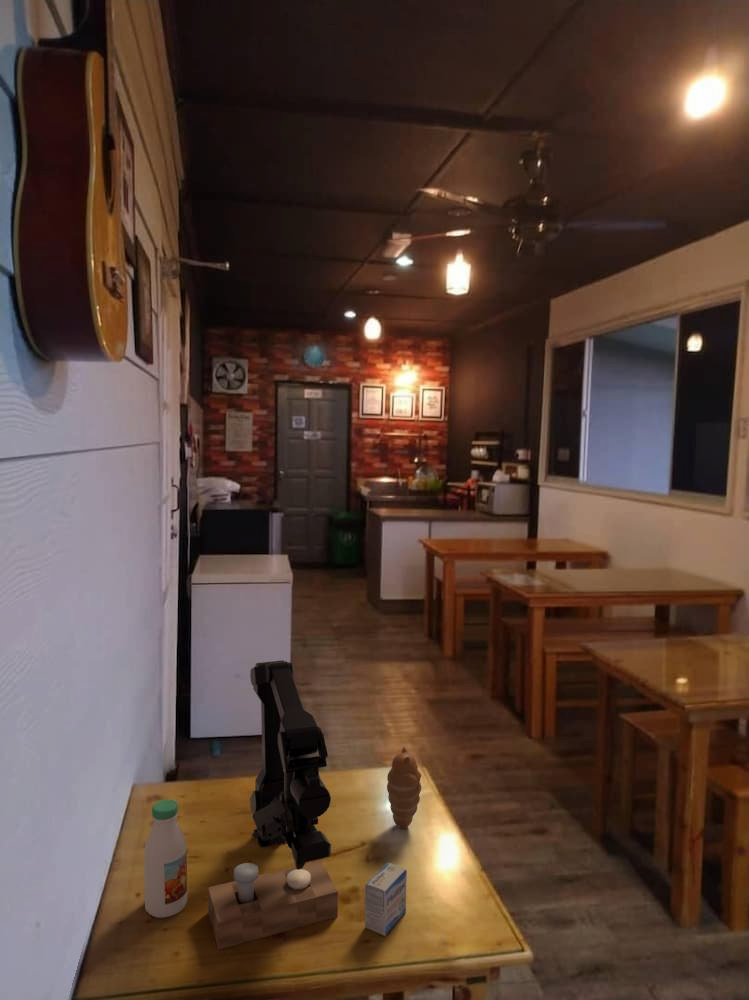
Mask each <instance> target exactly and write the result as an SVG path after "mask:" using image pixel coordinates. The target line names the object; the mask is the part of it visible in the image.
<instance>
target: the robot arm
mask: <svg viewBox="0 0 749 1000" xmlns="http://www.w3.org/2000/svg"><path fill="white" fill-rule="evenodd" d="M249 674H250V675H249V676H250V683H251V686H253V687H252V688H253V691H254V693H255V694H256V696H257V697H258V699H259V701H260V713H261V714H260V715H261V721H260V722H261V760H262V763H261V764H262V766H261V767H262V768H261V770H260V771H259V772H258V775H257V777H256V778H255V784H254V785H255V786H254V787H255V789H254V790H253V791H252V793H251V795H250V797H249V804H250V807H249V808H250V811H251V813H252V819H253V822H254V825H255V826H256V829H253V835H254V836H255V839H256V842H257V843H258V846H259V847H260V848H266V847H270V846H275V845H279V844H282V843H283V844H284V843H286V844H287V846H288V847H289V849H291V853H292V858H293V861H294V865H295V866H296V869H297V870H300V869H302V868H303V866H304V865H305V864H307V863H310V862H315V861H319V860H322V859H325V858H329V857H330V856H331V855H332V854H331V853H332V848H331V847H332V844H331V842H330V841H329V839H328V837H327V836H326V834H325V833H323V832H322V831H321V830H318V829H317V828H316V825H319V817H321V816H322V815H324V814H325V813H326V812H327V810H328V809H329V807H330V805H331V800H332V798H331V797H332V796H331V794H330V792H329V789H328V788H327V786H326V784H325V783H324V782H323V779H322V778H321V775H320V773H319V772H320V771H319V769H320V768H326V767H328V764H327V763H328V762H327V758H328V757H329V753H328V750H327V745H326V741H325V739H326V738H325V737H324V736H325V735H324V732H323V731H322V728H321V727H320V726H318V724H317V722H316V719H315V717H314V715H313V714H311V713H309V712H308V711H306V710H305V709H304V707H303V703H302V700H301V697H300V693H299V691H298V688H297V686H296V685H297V684H296V683H295V679H294V678H295V677H294V666H293V663H292V662H290V661H289V662H288V661H286V660H275V661H273V660H272V661H265V662H256V663H255V665H254V666H253V667H252V668H250V673H249ZM317 752H318V755H317V756H310V755H314V754H316V753H317ZM295 866H294V867H295Z"/></svg>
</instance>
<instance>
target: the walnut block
mask: <svg viewBox="0 0 749 1000" xmlns="http://www.w3.org/2000/svg"><path fill="white" fill-rule="evenodd" d="M321 860H322V859H319V860H315V861H311V862H306V863H305V865H304V866H303V868H302V869H303V870H306V871H308V872H309V873H310V875H311V882H310V884H309V885H308V886H307V887H306V888H303V889H299V890H295V891H292V889H291V887H289V886H288V884H287V875H288V874H289V873H290V872H291V871H293V870H296V866H291V867H288V868H284V869H283V868H282V869H280V870H275V871H271V872H267V873H263V874H262V873H261V874H258V878H257V879H256V880H255V881H254V900H253V901H252V902H248V903H244V904H242V903H240V902H239V900H238V882H236V881H235V880H233V881H230V882H225V883H221V884H217V885H212V886H209V887H208V888H207V896H208V898H207V902H208V903H207V906H208V907H207V911H208V912H207V913H208V916H209V919H210V920H209V921H210V924H211V928H212V932H213V935H214V938H215V942H216V946H217V950H219V949H220V950H223V949H225V948H226V949H227V948H231V947H232V946H233V947H234V946H237V945H241V944H244V943H248V942H252V941H255V940H258V939H259V940H260V939H262V938H265V937H270V936H273V935H276V934H280V933H284V932H287V931H291V930H294V929H298V928H301V927H305V926H308V925H309V926H310V925H312V924H316V923H320V922H324V921H327V920H331V919H334V918H338V915H339V914H338V912H339V911H338V909H339V904H338V903H339V902H338V901H339V891H338V890H337V887H336V885H335V884H334V882H333V881H332V878H331V877H330V875H329V873H328V871H327V869H326V867H325V866H324V864H323V863H322V861H321ZM220 950H219V951H220Z"/></svg>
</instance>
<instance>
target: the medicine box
mask: <svg viewBox="0 0 749 1000" xmlns="http://www.w3.org/2000/svg"><path fill="white" fill-rule="evenodd" d="M407 871H408V870H407V869H405V868H404V867H401V866H399V865H397V864H394V863H391V862H386V863H385V865H383V867H382V868H380V870H378V871H377V872H376V873H375V875H373V876H372V878H370V880H369V881H368V882H367V883H365V886H364V887H365V888H364V927H365V929H368V930H371V932H374V933H376V934H380V935H382V936H384V937H386V935H388V933H389V932H390V931H391V930H392V929H393V927H394V926H395V925H396V923H397V922H398V921H400V919H401V918H402V916H403V915H404V914H405V913H406V912H407V878H408V877H407V875H408V873H407Z"/></svg>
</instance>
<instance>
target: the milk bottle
mask: <svg viewBox="0 0 749 1000" xmlns="http://www.w3.org/2000/svg"><path fill="white" fill-rule="evenodd" d="M178 810H179V806H178V802H177V801H176V800H173V799H161V800H158V801H156V802H155V803H154V804H153V805H152V808H151V815H152V816H151V817H152V820H153V821H152V822H153V823H152V826H151V830H150V832H149V834H148V836H147V839H146V841H145V846H144V850H143V851H144V854H143V855H144V858H143V862H144V863H143V868H144V869H143V871H144V872H143V876H144V877H143V878H144V880H143V882H144V909H145V911H146V913H147V912H148V913H149V914H150V915H149V914H148V913H147V914H148V915H149V916H151V915H152V916H151V917H153V916H154V917H153V918H157V919H159V918H160V919H163V918H164V919H165V918H170V917H172V916H174V915H177V914H178V913H180V912H182V910H184V908H185V906H186V904H187V902H188V859H187V858H188V852H187V851H188V850H187V843H186V842H187V841H186V837H185V835H184V832H183V831H182V828H181V827H180V824H179V823H178V818H177V817H178Z"/></svg>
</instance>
